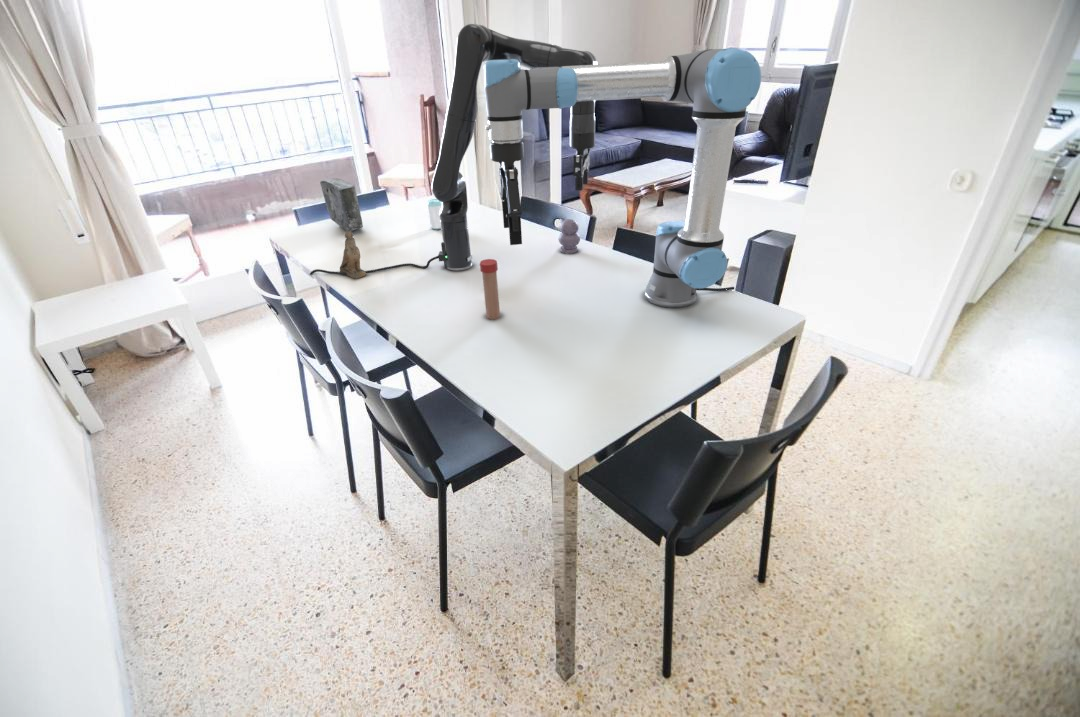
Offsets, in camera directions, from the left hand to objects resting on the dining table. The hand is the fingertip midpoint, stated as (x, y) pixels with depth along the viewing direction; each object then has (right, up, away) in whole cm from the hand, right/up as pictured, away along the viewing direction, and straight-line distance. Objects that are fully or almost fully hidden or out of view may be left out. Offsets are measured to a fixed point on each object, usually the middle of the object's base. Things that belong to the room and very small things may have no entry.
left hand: (581, 186), depth 155 cm
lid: (-27, -27, -18) cm, 43 cm away
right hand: (-20, -24, -34) cm, 46 cm away
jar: (-27, -41, -9) cm, 50 cm away
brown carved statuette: (-80, -23, +24) cm, 87 cm away
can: (-59, +5, +68) cm, 90 cm away
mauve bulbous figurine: (-2, -12, +36) cm, 38 cm away
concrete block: (-101, +6, +72) cm, 124 cm away
